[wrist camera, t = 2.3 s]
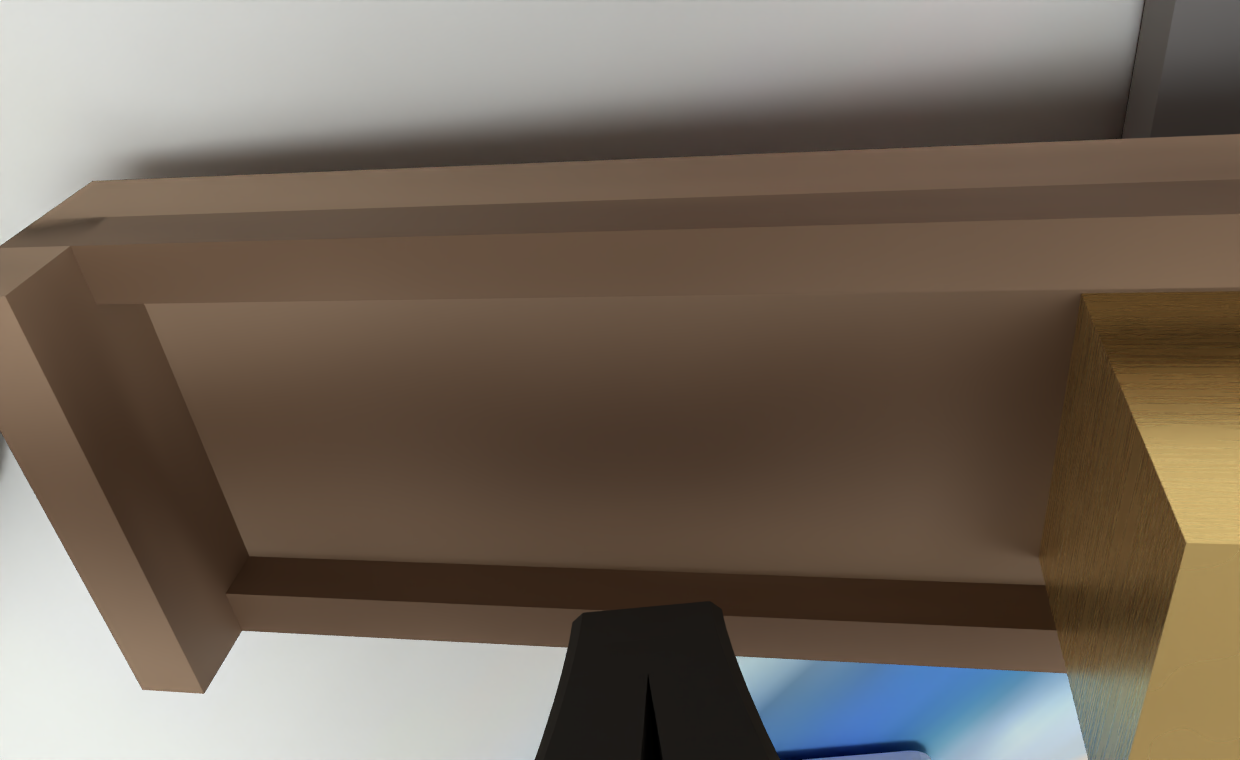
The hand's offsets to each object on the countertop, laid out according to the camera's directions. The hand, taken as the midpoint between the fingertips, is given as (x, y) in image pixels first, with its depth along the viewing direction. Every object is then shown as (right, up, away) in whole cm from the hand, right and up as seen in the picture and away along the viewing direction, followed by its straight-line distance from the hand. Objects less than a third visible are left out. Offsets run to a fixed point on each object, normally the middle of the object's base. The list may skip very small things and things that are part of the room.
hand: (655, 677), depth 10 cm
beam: (+8, +3, +3) cm, 9 cm away
